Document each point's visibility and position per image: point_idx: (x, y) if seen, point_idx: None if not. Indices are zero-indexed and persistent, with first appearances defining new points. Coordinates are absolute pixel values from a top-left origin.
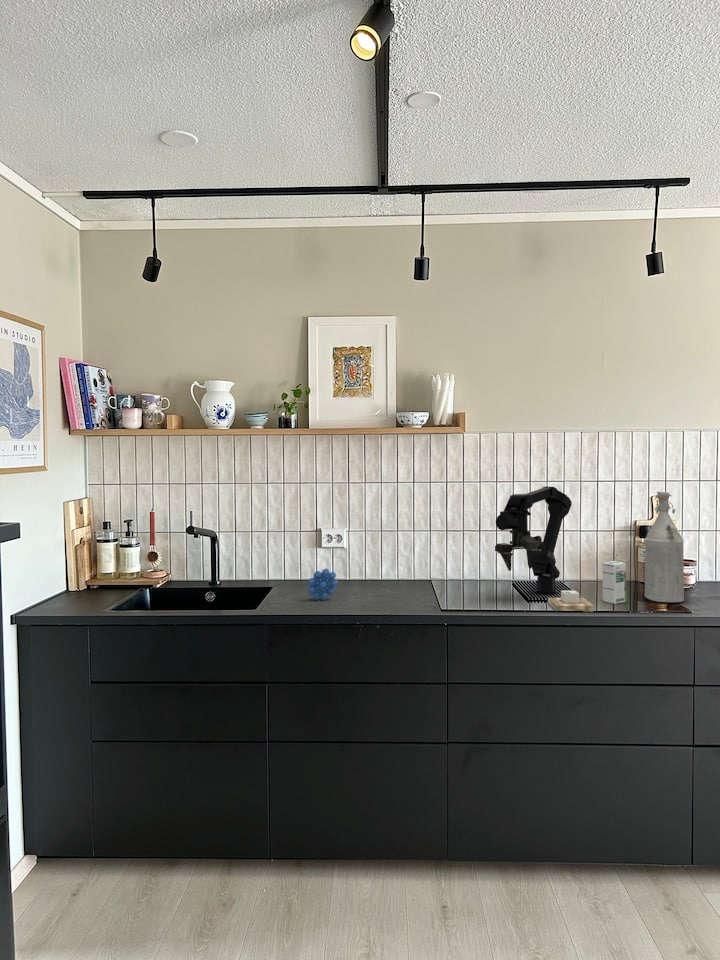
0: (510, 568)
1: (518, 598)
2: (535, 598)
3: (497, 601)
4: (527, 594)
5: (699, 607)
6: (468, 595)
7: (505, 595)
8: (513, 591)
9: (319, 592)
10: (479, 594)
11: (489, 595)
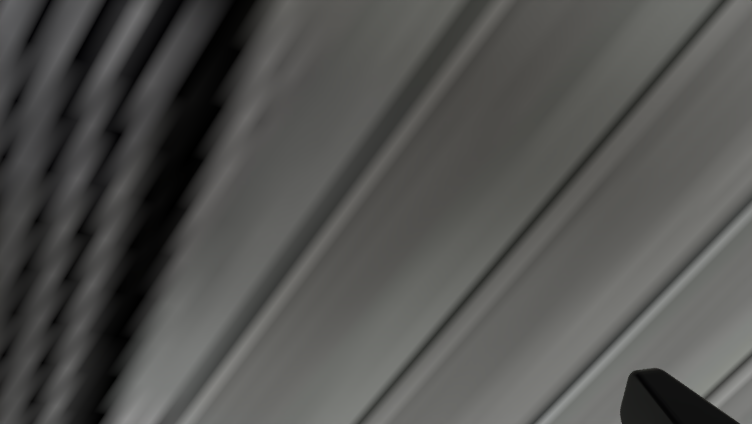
0: (686, 404)
1: (298, 128)
2: (60, 43)
3: (637, 82)
4: (65, 272)
5: None
6: None
7: (352, 301)
8: (160, 421)
9: None
10: (558, 396)
11: (504, 342)
